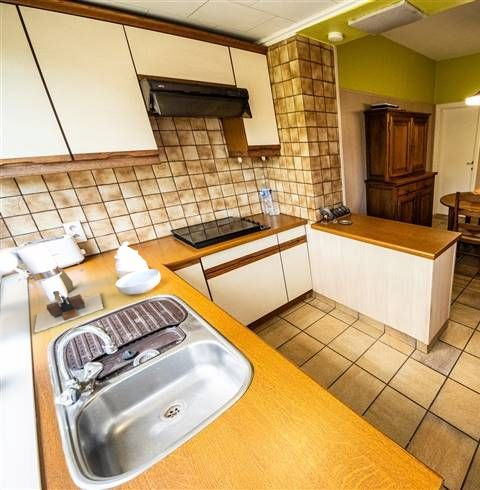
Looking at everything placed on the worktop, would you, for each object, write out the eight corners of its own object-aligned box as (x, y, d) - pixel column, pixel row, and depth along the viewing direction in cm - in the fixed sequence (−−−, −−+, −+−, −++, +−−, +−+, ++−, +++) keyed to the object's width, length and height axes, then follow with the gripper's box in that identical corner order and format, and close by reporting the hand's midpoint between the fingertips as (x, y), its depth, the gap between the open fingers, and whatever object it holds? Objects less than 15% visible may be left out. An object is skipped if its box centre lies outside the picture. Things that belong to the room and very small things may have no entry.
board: (35, 333, 104) (34, 331, 103) (38, 315, 114) (37, 313, 114) (103, 308, 117) (102, 306, 116) (100, 294, 128) (99, 292, 127)
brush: (53, 318, 110) (46, 308, 107) (53, 315, 112) (46, 304, 110) (86, 307, 116) (80, 296, 114) (86, 304, 118) (80, 294, 116)
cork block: (64, 320, 108) (62, 316, 108) (64, 316, 111) (62, 312, 110) (78, 315, 111) (76, 312, 110) (78, 312, 114) (75, 308, 113)
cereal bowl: (112, 297, 125) (106, 284, 122) (148, 279, 139) (143, 267, 137) (138, 302, 120) (131, 288, 117) (172, 283, 135) (167, 270, 132)
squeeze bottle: (48, 295, 129) (28, 262, 122) (69, 286, 136) (51, 255, 129) (59, 297, 127) (38, 264, 120) (79, 288, 134) (61, 256, 127)
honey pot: (141, 266, 154) (128, 237, 147) (153, 270, 149) (141, 240, 142) (114, 276, 144) (99, 246, 137) (126, 281, 138) (111, 250, 131)
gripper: (33, 270, 109) (57, 307, 117) (31, 284, 99) (56, 323, 106) (60, 263, 114) (80, 299, 122) (60, 275, 104) (82, 313, 111)
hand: (69, 309), depth 114 cm, fingers closed on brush, 3 cm apart
